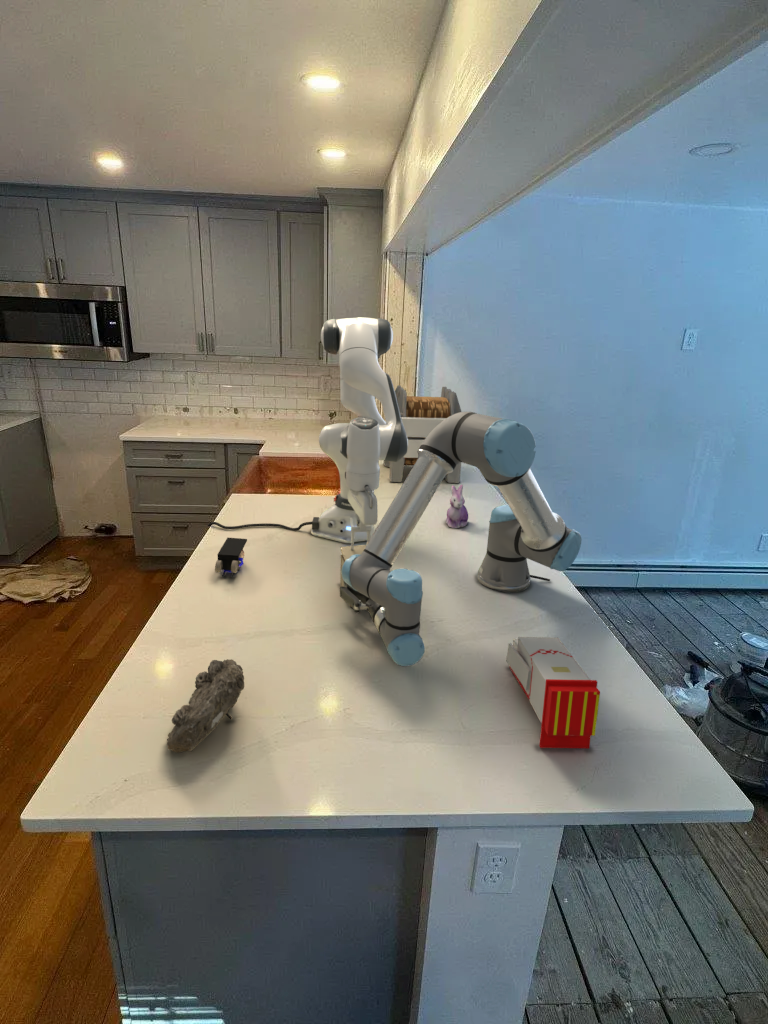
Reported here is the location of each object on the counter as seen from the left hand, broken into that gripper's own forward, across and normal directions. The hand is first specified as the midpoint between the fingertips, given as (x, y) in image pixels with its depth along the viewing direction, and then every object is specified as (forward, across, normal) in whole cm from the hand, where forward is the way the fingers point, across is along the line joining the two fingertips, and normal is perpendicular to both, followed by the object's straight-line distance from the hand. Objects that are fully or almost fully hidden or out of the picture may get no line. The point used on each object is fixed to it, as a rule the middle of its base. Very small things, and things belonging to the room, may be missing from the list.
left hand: (361, 528), depth 155 cm
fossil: (+17, -47, +40) cm, 64 cm away
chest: (+18, -5, 0) cm, 18 cm away
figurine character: (+18, +17, +34) cm, 42 cm away
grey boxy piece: (+19, +109, -56) cm, 124 cm away
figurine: (+18, +41, -47) cm, 65 cm away
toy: (+17, -57, -25) cm, 64 cm away
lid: (+8, -4, 0) cm, 9 cm away
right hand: (+11, -7, 0) cm, 13 cm away
